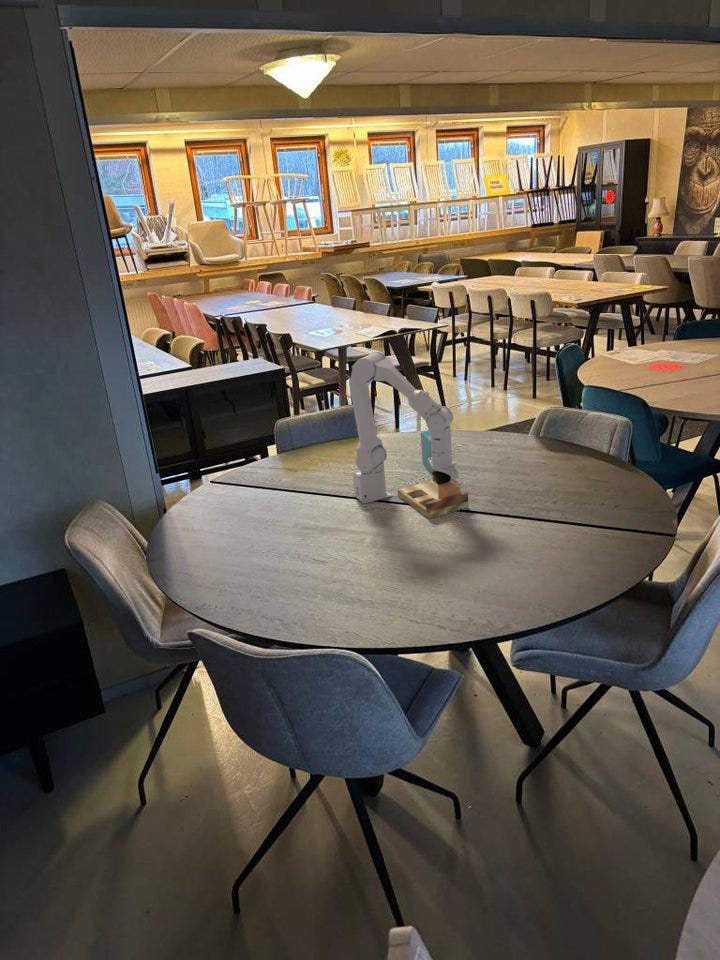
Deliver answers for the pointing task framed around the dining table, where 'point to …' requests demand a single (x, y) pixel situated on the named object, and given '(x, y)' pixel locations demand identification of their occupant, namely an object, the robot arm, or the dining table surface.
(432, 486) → the trap board
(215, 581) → the dining table surface
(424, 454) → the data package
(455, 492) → the block
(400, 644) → the dining table surface
